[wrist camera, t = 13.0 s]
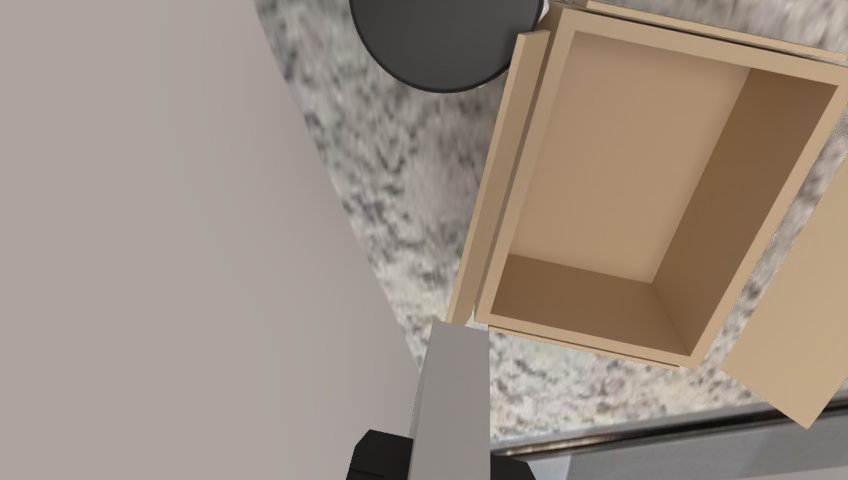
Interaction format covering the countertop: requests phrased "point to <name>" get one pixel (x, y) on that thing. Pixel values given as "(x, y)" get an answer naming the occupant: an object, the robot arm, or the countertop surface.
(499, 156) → the flap
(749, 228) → the carton
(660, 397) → the countertop surface
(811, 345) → the flap
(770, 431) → the countertop surface
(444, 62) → the jar
